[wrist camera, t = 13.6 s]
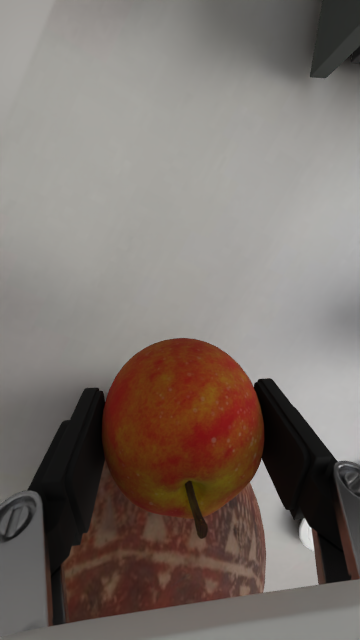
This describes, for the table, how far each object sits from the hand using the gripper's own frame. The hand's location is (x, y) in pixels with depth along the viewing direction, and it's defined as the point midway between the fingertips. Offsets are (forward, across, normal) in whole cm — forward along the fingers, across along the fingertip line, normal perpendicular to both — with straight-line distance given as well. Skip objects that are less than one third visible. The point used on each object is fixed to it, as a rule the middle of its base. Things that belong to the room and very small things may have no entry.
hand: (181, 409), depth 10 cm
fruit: (+3, 0, 0) cm, 3 cm away
